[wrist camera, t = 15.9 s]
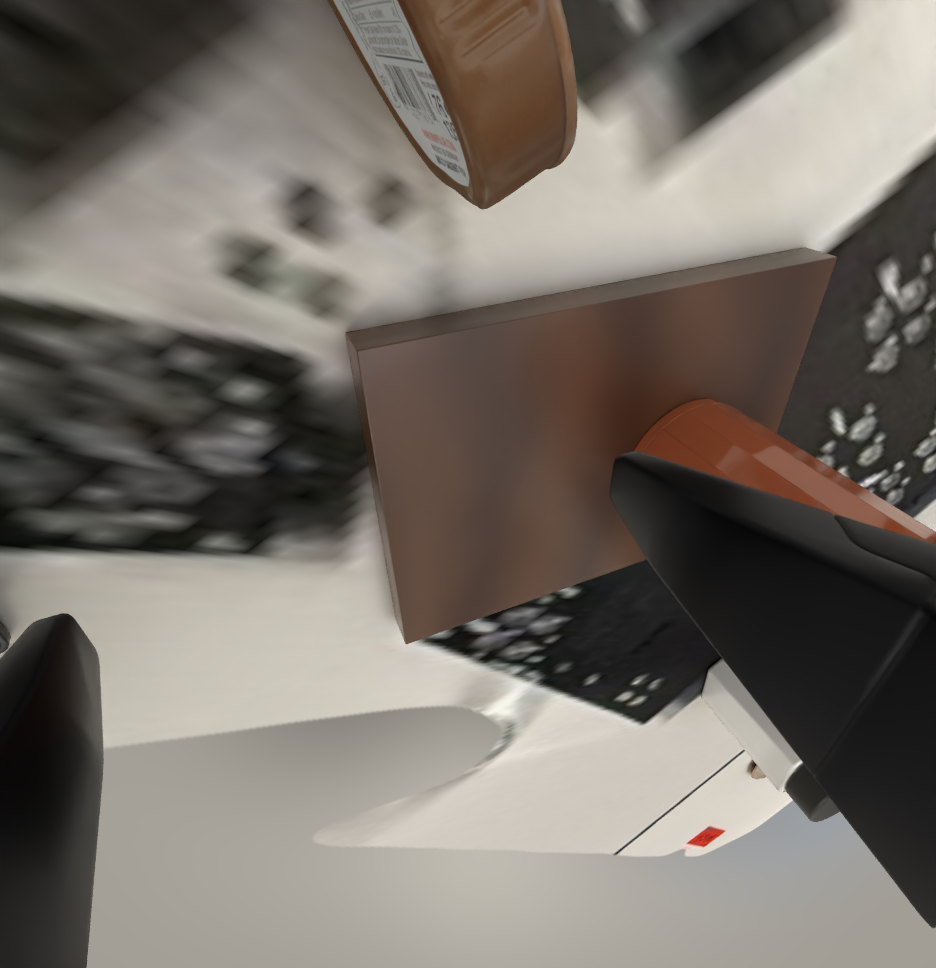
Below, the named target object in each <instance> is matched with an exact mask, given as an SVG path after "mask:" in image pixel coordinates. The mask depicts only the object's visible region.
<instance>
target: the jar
mask: <svg viewBox="0 0 936 968" xmlns="http://www.w3.org/2000/svg"><path fill="white" fill-rule="evenodd" d="M701 697H702V699H703V700H704V702H705V703H706V704H707V705H708V706H709V708H710V709H711V710H712V711H713V712H714V714H715V715H716V716H717V717H718V718H719V720H720V721H721V722H722V723H723V725H724V726H725V727H726V728H727V729H728V731H729V732H730V733H731V734H732V735H733V737H734V738H735V739H736V740H737V741H738V743H739V744H740V745H741V746H742V747H743V749H744V750H745V751H746V752H747V754H748V755H749V756H750V757H751V758H752V760H753V761H754V762H755V763H756V764H757V766H758V767H759V768H760V769H761V770H762V772H763V773H764V774H765V775H766V776H767V778H768V779H769V780H770V781H771V783H772V784H773V785H774V786H775V787H776V789H777V790H778V791H779V792H785V791H786V792H787V793H788V794H789V796H790V797H791V798H792V799H793V800H794V802H795V803H796V804H797V805H798V806H799V808H800V809H801V810H802V811H803V812H804V813H805V815H806V816H807V817H808V818H809V819H810V820H811V821H813V822H818V821H822V820H824V819H827V818H829V817H831V816H833V815H835V814H836V813H838V812H840V811H839V809H838V808H837V807H836V805H835V804H834V803H833V802H832V800H831V799H830V798H829V796H828V795H827V794H826V792H825V791H824V790H823V789H822V787H821V786H820V785H819V783H818V782H817V781H816V780H815V778H814V774H811V773H810V771H809V770H808V769H807V767H806V766H805V765H804V764H803V762H802V761H801V760H800V758H799V757H798V756H797V754H796V753H795V752H794V751H793V749H792V748H791V747H790V745H789V744H788V743H787V742H786V740H785V739H784V738H783V736H782V735H781V734H780V732H779V731H778V730H777V729H776V727H775V726H774V725H773V723H772V722H771V721H770V719H769V718H768V717H767V716H766V714H765V713H764V712H763V710H762V709H761V708H760V707H759V705H758V704H757V703H756V701H755V700H754V699H753V697H752V696H751V695H750V694H749V692H748V691H747V690H746V688H745V687H744V686H743V685H742V683H741V682H740V681H739V679H738V678H737V677H736V675H735V674H734V673H733V672H732V670H731V669H730V668H729V666H728V665H727V664H726V663H725V661H724V660H723V659H722V658H721V659H720V660H719V661H718V662H716V663H715V664H714V665H713V666H711V667H710V668H709V669H708V673H707V677H706V680H705V684H704V687H703V691H702V695H701Z"/></svg>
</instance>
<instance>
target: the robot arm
mask: <svg viewBox="0 0 936 968" xmlns="http://www.w3.org/2000/svg"><path fill="white" fill-rule="evenodd" d="M610 498H611V501H612V503H613V505H614V507H615V508H616V510H617V512H618V513H619V515H620V517H621V518H622V520H623V521H624V523H625V525H626V526H627V528H628V530H629V531H630V533H631V534H632V536H633V538H634V539H635V541H636V543H637V544H638V546H639V548H640V549H641V551H642V552H643V554H644V556H645V557H646V559H647V560H648V562H649V563H650V565H651V566H652V568H653V569H654V570H655V572H656V573H657V574H658V576H659V577H660V578H661V580H662V581H663V582H664V584H665V585H666V586H667V587H668V589H669V590H670V591H671V593H672V594H673V595H674V597H675V598H676V599H677V600H678V602H679V603H680V604H681V606H682V607H683V608H684V609H685V611H686V612H687V613H688V615H689V616H690V617H691V619H692V620H693V621H694V622H695V624H696V625H697V626H698V628H699V629H700V630H701V631H702V633H703V634H704V635H705V637H706V638H707V639H708V641H709V642H710V643H711V644H712V646H713V647H714V648H715V650H716V651H717V652H718V653H719V655H720V656H721V657H722V659H723V660H724V661H725V663H726V664H727V665H728V666H729V668H730V669H731V670H732V672H733V673H734V674H735V675H736V677H737V678H738V679H739V681H740V682H741V683H742V685H743V686H744V687H745V688H746V690H747V691H748V692H749V694H750V695H751V696H752V697H753V699H754V700H755V701H756V703H757V704H758V705H759V707H760V708H761V709H762V710H763V712H764V713H765V714H766V716H767V717H768V718H769V719H770V721H771V722H772V723H773V725H774V726H775V727H776V729H777V730H778V731H779V732H780V734H781V735H782V736H783V738H784V739H785V740H786V742H787V743H788V744H789V745H790V747H791V748H792V749H793V751H794V752H795V753H796V754H797V756H798V757H799V758H800V760H801V761H802V762H803V764H804V765H805V766H806V767H807V769H808V770H809V771H810V773H811V774H814V778H815V780H816V781H817V782H818V783H819V785H820V786H821V787H822V789H823V790H824V791H825V792H826V794H827V795H828V796H829V798H830V799H831V800H832V802H833V803H834V804H835V805H836V807H837V808H838V809H839V811H840V812H841V813H842V814H843V816H844V817H845V818H846V819H847V821H848V822H849V824H850V825H851V826H852V827H853V828H854V830H855V831H856V833H857V834H858V835H859V836H860V838H861V839H862V840H863V842H864V843H865V844H866V845H867V847H868V848H869V849H870V851H871V852H872V853H873V855H874V856H875V857H876V858H877V860H878V861H879V862H880V864H881V865H882V866H883V867H884V869H885V870H886V871H887V873H888V874H889V875H890V876H891V878H892V879H893V880H894V882H895V883H896V884H897V886H898V887H899V888H900V890H901V891H902V892H903V893H904V895H905V896H906V897H907V899H908V900H909V901H910V903H911V904H912V905H913V906H914V907H915V909H916V910H917V911H918V913H919V914H920V915H921V916H922V918H923V919H924V920H925V921H926V922H927V923H928V924H929V925H930V926H931V927H932V928H936V544H935V543H931V542H928V541H924V540H920V539H917V538H913V537H910V536H906V535H902V534H899V533H895V532H892V531H888V530H885V529H882V528H878V527H875V526H872V525H869V524H865V523H862V522H859V521H856V520H853V519H850V518H846V517H843V516H840V515H833V514H832V513H831V512H828V511H824V510H821V509H818V508H815V507H812V506H809V505H806V504H803V503H799V502H796V501H793V500H790V499H787V498H784V497H781V496H777V495H774V494H771V493H768V492H765V491H762V490H759V489H756V488H752V487H749V486H746V485H743V484H740V483H737V482H734V481H731V480H727V479H724V478H721V477H718V476H715V475H712V474H709V473H706V472H703V471H699V470H696V469H693V468H690V467H687V466H684V465H681V464H678V463H674V462H671V461H668V460H665V459H662V458H659V457H656V456H653V455H649V454H646V453H643V452H640V451H632V452H628V453H625V454H621V455H619V456H617V457H616V458H615V460H614V463H613V469H612V476H611V483H610ZM10 639H11V636H10V633H9V632H8V631H7V630H6V629H5V627H4V626H3V625H2V624H1V623H0V653H2V652H4V651H6V650H7V649H8V646H9V642H10ZM103 760H104V759H103V729H102V708H101V687H100V666H99V658H98V654H97V652H96V649H95V647H94V646H93V644H92V643H91V642H90V640H89V639H88V637H87V636H86V635H85V633H84V632H83V630H82V629H81V627H80V626H79V625H78V623H77V622H76V620H75V619H74V618H73V617H72V616H71V615H69V614H64V613H63V614H59V615H55V616H51V617H48V618H44V619H41V620H38V621H36V622H34V623H32V624H31V625H30V626H29V627H28V628H27V629H26V630H25V631H24V633H23V634H22V635H21V636H20V637H19V638H18V639H17V641H16V642H15V643H14V644H13V645H12V646H11V647H10V648H9V650H8V651H7V652H6V653H5V654H4V655H3V656H2V657H1V659H0V968H86V966H87V953H88V942H89V931H90V918H91V908H92V895H93V884H94V872H95V861H96V848H97V837H98V826H99V814H100V802H101V791H102V778H103Z"/></svg>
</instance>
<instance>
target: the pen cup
mask: <svg viewBox="0 0 936 968" xmlns="http://www.w3.org/2000/svg"><path fill="white" fill-rule="evenodd" d="M634 451H640V452H643V453H646V454H649V455H653V456H656V457H659V458H662V459H665V460H668V461H671V462H674V463H678V464H681V465H684V466H687V467H690V468H693V469H696V470H699V471H703V472H706V473H709V474H712V475H715V476H718V477H721V478H724V479H727V480H731V481H734V482H737V483H740V484H743V485H746V486H749V487H752V488H756V489H759V490H762V491H765V492H768V493H771V494H774V495H777V496H781V497H784V498H787V499H790V500H793V501H796V502H799V503H803V504H806V505H809V506H812V507H815V508H818V509H821V510H824V511H828V512H831V513H832V514H833V515H840V516H843V517H846V518H850V519H853V520H856V521H859V522H862V523H865V524H869V525H872V526H875V527H878V528H882V529H885V530H888V531H892V532H895V533H899V534H902V535H906V536H910V537H913V538H917V539H920V540H924V541H928V542H931V543H935V544H936V532H935V531H933V530H932V529H930V528H928V527H927V526H925V525H923V524H922V523H920V522H919V521H917V520H915V519H914V518H912V517H910V516H909V515H907V514H906V513H904V512H902V511H901V510H899V509H897V508H896V507H894V506H893V505H891V504H889V503H888V502H886V501H884V500H883V499H881V498H880V497H878V496H876V495H875V494H873V493H871V492H870V491H868V490H867V489H865V488H863V487H862V486H860V485H858V484H857V483H855V482H854V481H852V480H850V479H849V478H847V477H845V476H844V475H842V474H841V473H839V472H837V471H836V470H834V469H833V468H831V467H829V466H828V465H826V464H824V463H823V462H821V461H820V460H818V459H816V458H815V457H813V456H811V455H810V454H808V453H807V452H805V451H803V450H802V449H800V448H798V447H797V446H795V445H794V444H792V443H790V442H789V441H787V440H785V439H784V438H782V437H781V436H779V435H777V434H776V433H774V432H772V431H771V430H769V429H768V428H766V427H764V426H763V425H761V424H759V423H758V422H756V421H755V420H753V419H751V418H750V417H748V416H746V415H745V414H743V413H742V412H740V411H738V410H737V409H735V408H734V407H732V406H730V405H727V404H725V403H723V402H722V401H719V400H716V399H697V400H693V401H690V402H687V403H685V404H682V405H680V406H678V407H677V408H675V409H673V410H672V411H670V412H669V413H667V414H666V415H664V416H663V417H662V418H661V419H659V420H658V421H657V422H656V423H655V424H654V425H653V426H652V427H651V428H650V429H649V430H648V431H647V433H646V434H645V435H644V436H643V438H642V439H641V440H640V442H639V443H638V445H637V446H636V448H635V450H634Z"/></svg>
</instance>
